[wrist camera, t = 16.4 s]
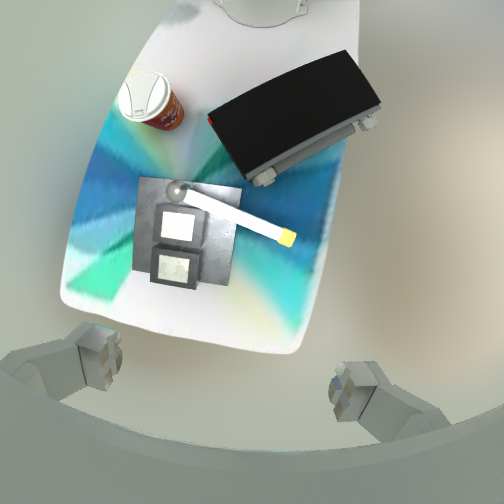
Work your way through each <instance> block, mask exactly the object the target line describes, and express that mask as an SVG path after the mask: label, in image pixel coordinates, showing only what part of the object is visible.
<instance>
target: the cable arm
mask: <svg viewBox="0 0 504 504" xmlns="http://www.w3.org/2000/svg"><path fill="white" fill-rule="evenodd" d="M165 195H166V197H167V199H168V200H169V201H171V202H173V203H179V202H182V201H184V202H186V203H189V204H191V205H194V206H196V207H199V208H201V209H204V210H206V211H208V212H211V213H213V214H216V215H218V216H221V217H223V218H225V219H228V220H230V221H233V222H235V223H237V224H240V225H242V226H244V227H247V228H249V229H252V230H254V231H256V232H259V233H261V234H263V235H266V236H268V237H270V238H273V239H275V240H277V242H278V243H280V244H283V245H285V246H287V247H290V248H291V246H292V243H293V241H294V239H295V237H296V235H297V233H296V232H295V231H293V230H290V229H288V228H286V227H283V226H282V227H280V226H278V225H275V224H273V223H271V222H268V221H266V220H264V219H261V218H259V217H257V216H254V215H252V214H250V213H247V212H245V211H243V210H240V209H238V208H235V207H233V206H231V205H228V204H226V203H223V202H221V201H219V200H216V199H214V198H211V197H209V196H206V195H204V194H201V193H199V192H196V191H194V190H191V189H190V187H189V185H188V184H187V183H186V182H184V181H180V180H174V181H171V182H170V183H169V184H168V185H167V186H166V189H165Z"/></svg>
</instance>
